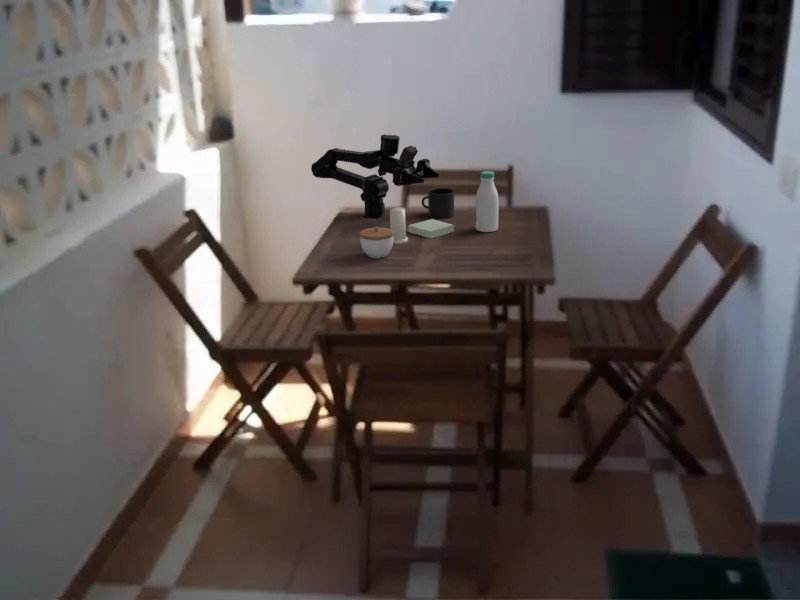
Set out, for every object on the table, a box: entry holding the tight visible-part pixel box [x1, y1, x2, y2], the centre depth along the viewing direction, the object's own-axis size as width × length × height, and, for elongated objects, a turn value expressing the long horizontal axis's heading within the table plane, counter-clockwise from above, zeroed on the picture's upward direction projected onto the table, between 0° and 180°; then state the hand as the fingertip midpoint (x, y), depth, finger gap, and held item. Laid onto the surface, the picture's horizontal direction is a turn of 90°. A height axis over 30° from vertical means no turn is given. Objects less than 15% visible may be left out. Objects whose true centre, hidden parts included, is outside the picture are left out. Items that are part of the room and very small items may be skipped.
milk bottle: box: [475, 170, 499, 233], centre depth 296 cm, size 8×8×20 cm
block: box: [408, 218, 455, 239], centre depth 298 cm, size 11×11×2 cm
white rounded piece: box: [389, 206, 409, 245], centre depth 287 cm, size 6×6×11 cm
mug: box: [421, 187, 455, 219], centre depth 317 cm, size 9×12×9 cm
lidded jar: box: [359, 226, 394, 259], centre depth 274 cm, size 11×11×9 cm
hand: (431, 178), depth 301 cm, fingers open, 9 cm apart
